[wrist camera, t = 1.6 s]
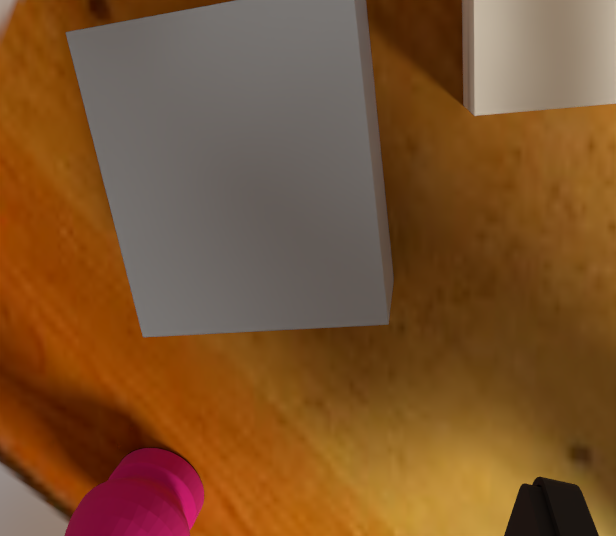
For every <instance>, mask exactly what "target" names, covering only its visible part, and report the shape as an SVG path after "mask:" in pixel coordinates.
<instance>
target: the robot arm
mask: <svg viewBox="0 0 616 536" xmlns="http://www.w3.org/2000/svg"><path fill="white" fill-rule="evenodd" d="M504 536H599V535H598V533H597V530H596V527H595V525H594V522H593V520H592V517H591V515H590V512H589V509H588V507H587V504H586V502H585V499H584V496H583V494H582V492H581V490H580V488H579V487H578V486H577V485H575V484H571V483H566V482H561V481H557V480H552V479H548V478H543V477H537V478H536V479H535V480H534V482H533V485H529V484H522V485H521V487H520V489H519V492H518V495H517V498H516V501H515V504H514V507H513V510H512V513H511V516H510V519H509V522H508V526H507V529H506V532H505V535H504Z"/></svg>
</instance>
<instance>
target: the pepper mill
mask: <svg viewBox="0 0 616 536" xmlns="http://www.w3.org/2000/svg"><path fill="white" fill-rule="evenodd" d="M203 502H204V489H203V485H202V482H201V480H200V478H199V476H198V474H197V473H196V471H195V470H194V469H193V467H192V466H191V465H190V464H189V463H188V462H186V461H185V460H184V459H183V458H181V457H180V456H178V455H176V454H174V453H172V452H170V451H166V450H163V449H158V448H143V449H139V450H136V451H133V452H131V453H129V454H128V455H127V456H125V457H124V459H123V460H122V461H121V462H120V464H119V465H118V466H117V468H116V469H115V470H114V472H113V473H112V474H111V476H110V477H109V479H108V481H106V482H104V483H102V484H99V485H98V486H96V487H94V488H93V489H92V490H91V491H90V492H89V493H87V494H86V495H85V496H84V498H83V499H82V501H81V502H80V504H79V505H78V507H77V509H76V510H75V512H74V513H73V515H72V517H71V520H70V522H69V525H68V527H67V530H66V533H65V536H190V531H189V530H190V529H191V527H192V526H193V524H194V522H195V520H196V518H197V516H198V514H199V512H200V510H201V508H202V505H203Z"/></svg>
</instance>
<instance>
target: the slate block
mask: <svg viewBox="0 0 616 536" xmlns="http://www.w3.org/2000/svg"><path fill="white" fill-rule="evenodd" d="M66 36H67V40H68V44H69V48H70V52H71V56H72V60H73V64H74V68H75V72H76V75H77V79H78V83H79V87H80V91H81V95H82V99H83V103H84V107H85V111H86V115H87V119H88V123H89V127H90V131H91V134H92V138H93V142H94V146H95V150H96V154H97V158H98V162H99V166H100V170H101V174H102V178H103V182H104V186H105V190H106V194H107V197H108V201H109V205H110V209H111V213H112V217H113V221H114V225H115V229H116V233H117V237H118V241H119V245H120V249H121V253H122V256H123V260H124V264H125V268H126V272H127V276H128V280H129V284H130V288H131V292H132V296H133V300H134V304H135V308H136V312H137V316H138V319H139V323H140V327H141V331H142V335H143V337H158V336H177V335H196V334H216V333H235V332H254V331H273V330H293V329H312V328H331V327H351V326H370V325H389V317H390V309H391V300H392V292H393V283H394V275H393V265H392V255H391V245H390V235H389V225H388V215H387V205H386V195H385V185H384V175H383V165H382V155H381V145H380V135H379V125H378V115H377V105H376V95H375V85H374V75H373V65H372V55H371V45H370V35H369V25H368V15H367V5H366V0H235V1H230V2H225V3H219V4H214V5H209V6H203V7H198V8H193V9H187V10H182V11H177V12H171V13H166V14H160V15H155V16H150V17H144V18H139V19H134V20H128V21H123V22H118V23H112V24H107V25H102V26H96V27H91V28H86V29H80V30H75V31H69V32H66Z"/></svg>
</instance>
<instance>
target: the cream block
mask: <svg viewBox="0 0 616 536" xmlns="http://www.w3.org/2000/svg"><path fill="white" fill-rule="evenodd" d="M462 42H463V106H464V107H465V108H467V109H468V110H469V111H470V112H471V113H472V114H473V115H474V116H477V115H489V114H500V113H512V112H523V111H535V110H546V109H558V108H569V107H581V106H593V105H604V104H616V0H462Z"/></svg>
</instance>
